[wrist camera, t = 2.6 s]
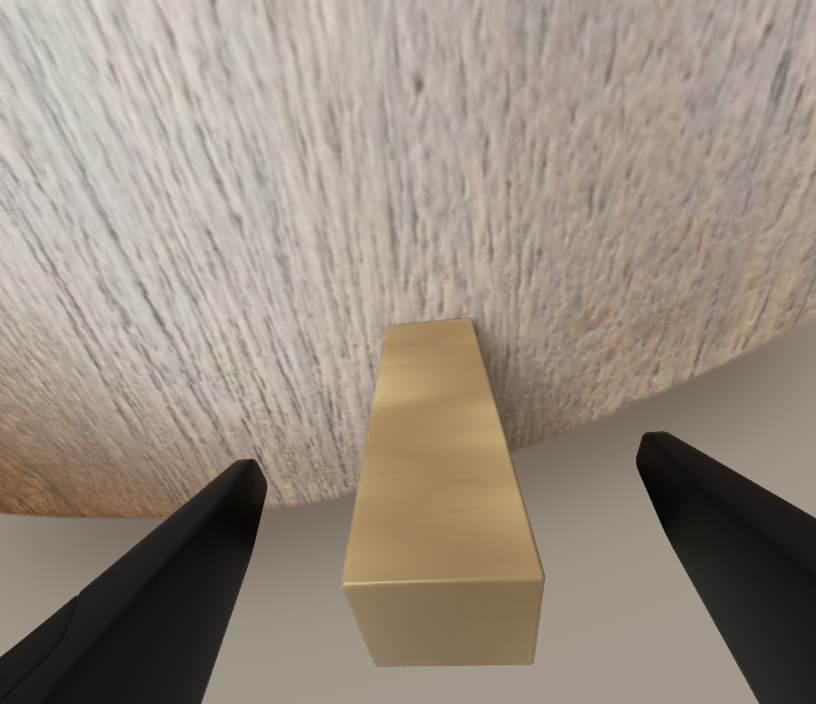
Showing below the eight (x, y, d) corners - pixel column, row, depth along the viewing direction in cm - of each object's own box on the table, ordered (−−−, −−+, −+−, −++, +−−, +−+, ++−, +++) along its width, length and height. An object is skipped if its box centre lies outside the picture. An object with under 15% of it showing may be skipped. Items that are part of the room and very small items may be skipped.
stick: (471, 316, 12) (547, 579, 5) (474, 386, 13) (535, 666, 6) (386, 325, 12) (338, 587, 5) (397, 392, 13) (373, 668, 6)
